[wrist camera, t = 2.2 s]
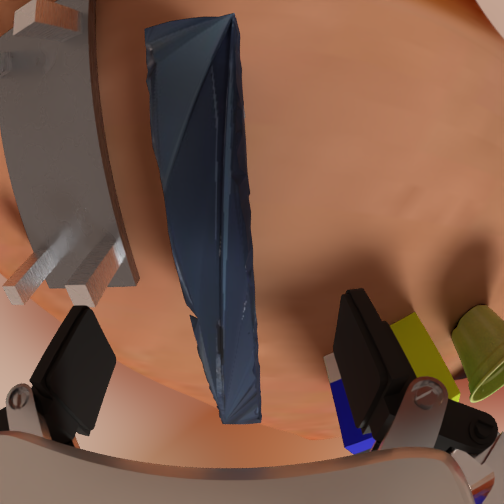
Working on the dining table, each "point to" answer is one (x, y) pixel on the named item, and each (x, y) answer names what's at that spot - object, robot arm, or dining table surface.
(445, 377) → the puzzle toy
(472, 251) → the dining table surface
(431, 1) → the dining table surface
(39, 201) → the rack
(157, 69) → the vhs cassette tape
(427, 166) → the dining table surface
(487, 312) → the plant pot
